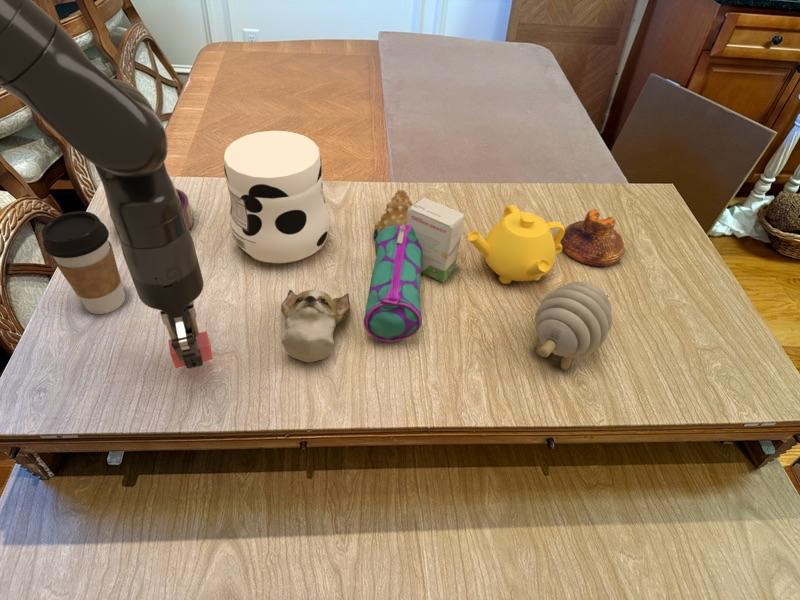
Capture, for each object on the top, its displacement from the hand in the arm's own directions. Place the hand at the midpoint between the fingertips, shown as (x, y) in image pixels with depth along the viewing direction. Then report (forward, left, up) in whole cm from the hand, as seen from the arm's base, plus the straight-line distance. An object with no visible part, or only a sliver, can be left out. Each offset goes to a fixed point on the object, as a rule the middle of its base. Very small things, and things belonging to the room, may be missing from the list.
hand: (193, 356), depth 75 cm
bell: (+72, +5, -3) cm, 73 cm away
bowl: (-3, +37, -3) cm, 37 cm away
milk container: (+18, +25, -3) cm, 31 cm away
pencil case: (+32, +4, -3) cm, 32 cm away
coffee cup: (-12, +19, -3) cm, 23 cm away
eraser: (0, 0, 0) cm, 0 cm away
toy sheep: (+52, -14, -3) cm, 54 cm away
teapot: (+54, +4, -3) cm, 55 cm away
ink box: (+41, +10, -3) cm, 42 cm away
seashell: (+39, +22, -3) cm, 45 cm away
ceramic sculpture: (+17, +1, -3) cm, 18 cm away
